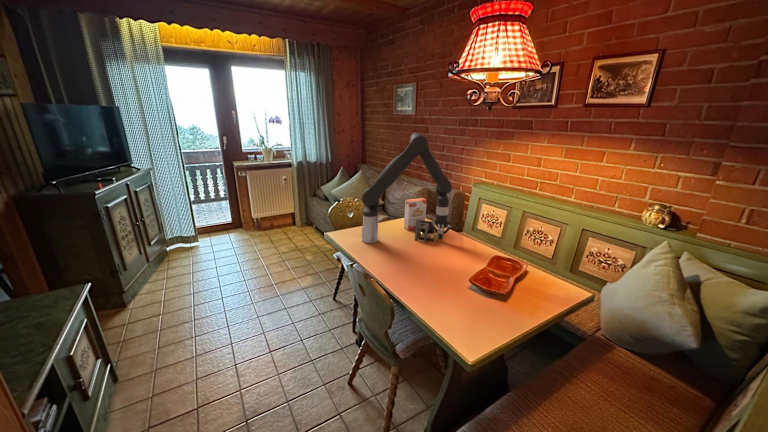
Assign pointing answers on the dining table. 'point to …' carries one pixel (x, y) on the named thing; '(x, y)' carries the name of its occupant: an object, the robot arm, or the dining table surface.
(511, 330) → the dining table surface
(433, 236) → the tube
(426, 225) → the dark grey legged block
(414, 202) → the cracker box
